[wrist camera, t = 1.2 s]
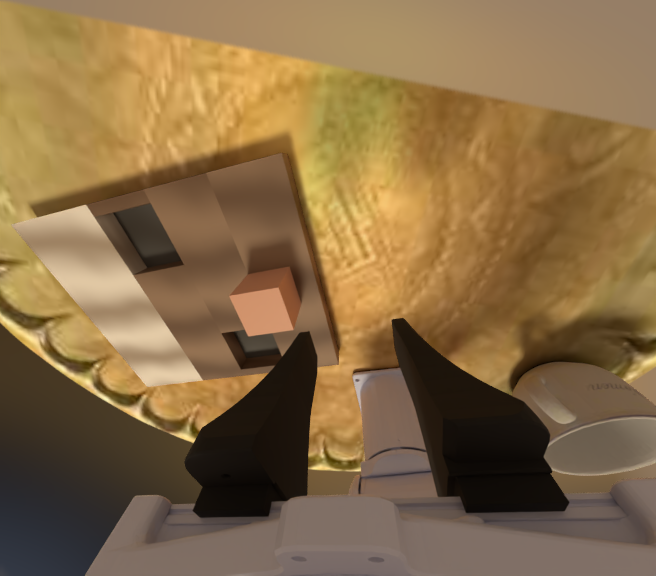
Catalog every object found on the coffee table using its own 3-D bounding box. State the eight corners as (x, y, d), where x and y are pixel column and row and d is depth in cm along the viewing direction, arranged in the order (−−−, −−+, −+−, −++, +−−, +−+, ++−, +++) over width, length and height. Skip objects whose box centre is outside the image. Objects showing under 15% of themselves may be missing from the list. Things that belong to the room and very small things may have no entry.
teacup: (610, 384, 28) (701, 459, 21) (518, 419, 32) (569, 492, 25) (566, 313, 23) (662, 376, 16) (467, 363, 27) (510, 432, 20)
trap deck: (338, 351, 28) (338, 364, 26) (158, 374, 31) (147, 386, 30) (287, 154, 18) (281, 152, 16) (37, 219, 22) (10, 224, 20)
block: (301, 303, 22) (293, 330, 19) (262, 310, 23) (248, 336, 19) (289, 266, 20) (278, 287, 17) (247, 274, 21) (228, 295, 18)
